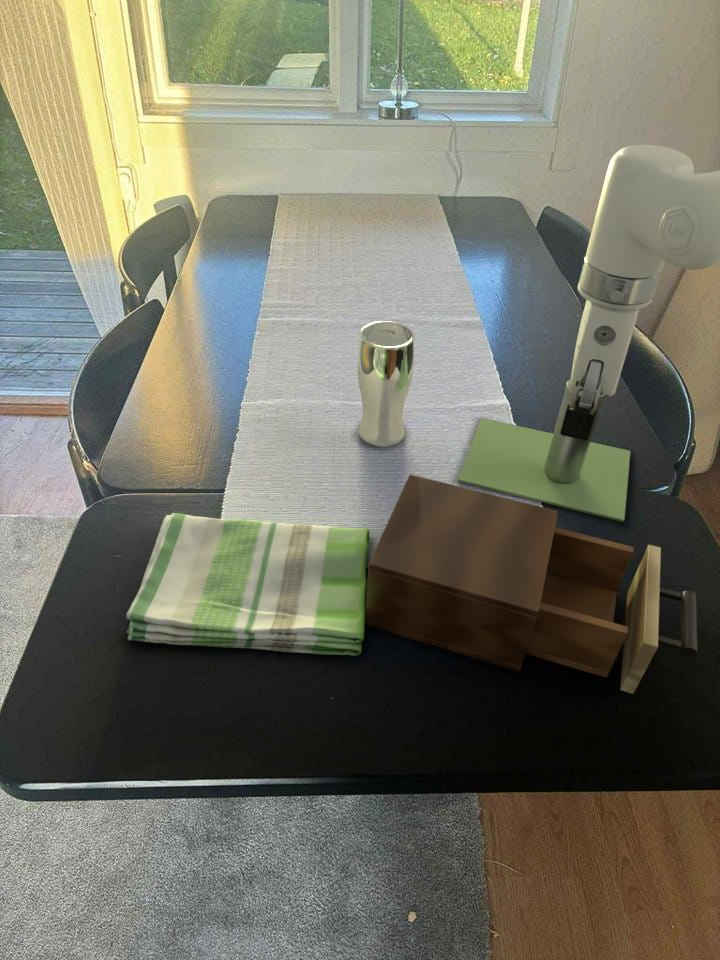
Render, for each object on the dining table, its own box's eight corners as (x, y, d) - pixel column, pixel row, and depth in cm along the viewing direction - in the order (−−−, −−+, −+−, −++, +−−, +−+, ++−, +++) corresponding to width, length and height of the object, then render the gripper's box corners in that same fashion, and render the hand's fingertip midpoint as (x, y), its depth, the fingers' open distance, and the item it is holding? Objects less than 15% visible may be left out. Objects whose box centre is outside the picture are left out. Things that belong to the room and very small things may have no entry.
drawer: (680, 606, 72) (705, 558, 67) (680, 708, 63) (709, 661, 58) (501, 558, 76) (513, 510, 71) (477, 648, 67) (489, 599, 63)
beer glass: (417, 433, 94) (428, 334, 84) (383, 456, 90) (389, 355, 81) (379, 411, 98) (385, 314, 88) (344, 432, 94) (346, 333, 84)
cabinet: (540, 570, 76) (558, 510, 70) (519, 671, 67) (538, 611, 61) (403, 534, 80) (409, 473, 74) (364, 625, 70) (368, 563, 64)
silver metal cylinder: (581, 465, 89) (607, 381, 81) (577, 486, 86) (604, 401, 78) (546, 457, 90) (569, 373, 82) (541, 477, 87) (564, 392, 79)
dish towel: (169, 523, 80) (164, 500, 78) (369, 533, 80) (370, 511, 77) (124, 648, 67) (117, 625, 65) (363, 661, 67) (364, 639, 65)
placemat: (629, 453, 93) (630, 450, 92) (623, 522, 82) (624, 520, 82) (481, 420, 97) (481, 417, 97) (458, 482, 87) (458, 479, 87)
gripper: (654, 324, 64) (602, 474, 76) (658, 254, 76) (613, 393, 89) (571, 309, 66) (534, 458, 78) (588, 243, 78) (553, 381, 90)
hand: (576, 422), depth 83 cm, fingers closed on silver metal cylinder, 4 cm apart
